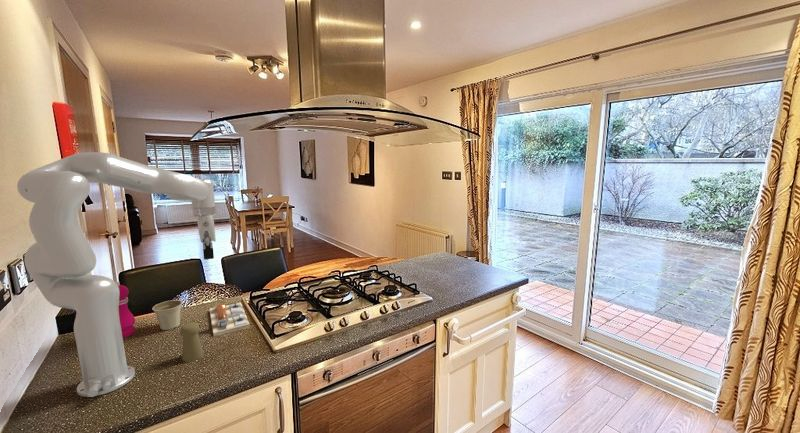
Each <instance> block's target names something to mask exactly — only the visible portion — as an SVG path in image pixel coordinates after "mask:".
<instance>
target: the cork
mask: <svg viewBox="0 0 800 433" xmlns="http://www.w3.org/2000/svg"><path fill="white" fill-rule="evenodd" d="M179 332H180V335H181V336H182V351H181V352H182V354H181V355H182V356H181V360H182V361H183V362H185V363H187V362H189V363H190V362H194V361H197V360H200V359H201V358H202V357H203V356H204V355H205V353H204V350H203V346H202V342H201V339H200V336H199V332H200V325H199V324H198V323H197V322H188V323H185V324H183V325H181V327H180V330H179Z"/></svg>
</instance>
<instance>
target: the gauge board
mask: <svg viewBox="0 0 800 433" xmlns="http://www.w3.org/2000/svg"><path fill="white" fill-rule="evenodd" d="M218 304H221V303H215V304H214V307H211V308H209V315H210V321H211V328H212V334H213V337H217V336H221V335H224V334H229V333H232V332H233V333H234V332H237V331H241V330H245V329H249V328H250V327H251V324H250V322H249V319H248V317H247V315H246V312H245V309H244V307H243V303H242V302H241V301H239V302H237V301H231V302H225V304H226V314H227V316H230V315H234V314H239V313H240V315H241V319H239V316H237V317H233V318H228V324H227V323H226V321H224V322H220V326H218V324H217V317H218V316H217V307H216V306H217V305H218Z"/></svg>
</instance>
